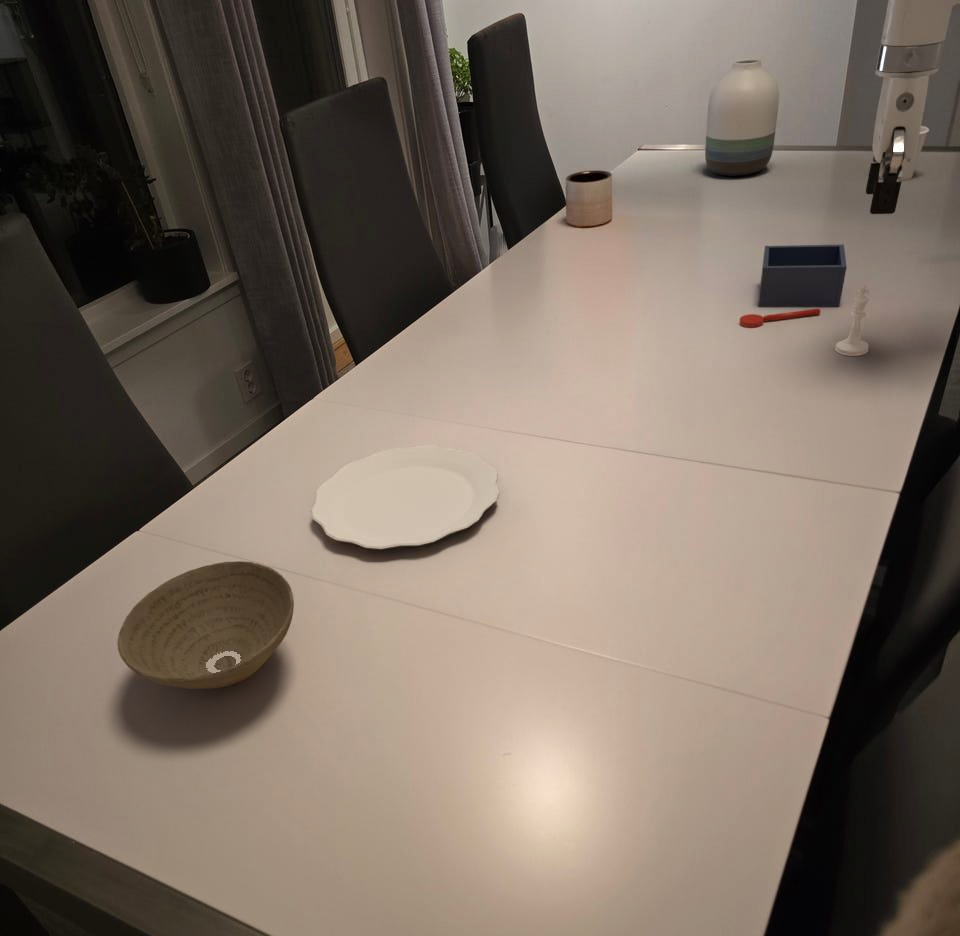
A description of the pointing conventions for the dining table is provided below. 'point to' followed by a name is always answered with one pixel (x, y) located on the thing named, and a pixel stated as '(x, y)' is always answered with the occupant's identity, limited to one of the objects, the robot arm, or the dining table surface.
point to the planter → (589, 198)
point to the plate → (405, 497)
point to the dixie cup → (910, 166)
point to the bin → (802, 275)
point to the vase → (742, 120)
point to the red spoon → (774, 317)
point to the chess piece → (855, 329)
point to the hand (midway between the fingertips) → (879, 203)
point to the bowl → (208, 625)
